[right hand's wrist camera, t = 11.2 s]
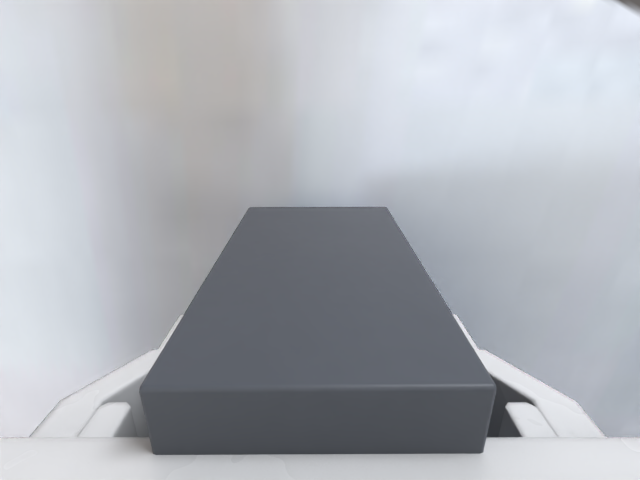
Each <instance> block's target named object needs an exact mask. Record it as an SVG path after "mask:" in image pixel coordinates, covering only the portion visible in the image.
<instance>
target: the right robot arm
mask: <svg viewBox="0 0 640 480" xmlns="http://www.w3.org/2000/svg"><path fill="white" fill-rule="evenodd" d="M183 315H184V314H182V315H180V316H179V317H178V319H177V320H176V322H175V323H174V325H173V326H172V328H171V329H170V331H169V333H168V334H167V336H166V337H165V339H164V340H163V342H162V343H161V345H160V347H159V348H158V350H150V351H149V352H147V353H145V354H143V355H141V356H140V357H138V358H136V359H134V360H132V361H131V362H129V363H127V364H125V365H123V366H122V367H120V368H118V369H116V370H114V371H113V372H111V373H109V374H107V375H105V376H104V377H102V378H100V379H98V380H96V381H95V382H93V383H91V384H89V385H87V386H86V387H84V388H82V389H80V390H78V391H77V392H75V393H73V394H71V395H69V396H68V397H66V398H64V399H62V400H60V401H59V402H58V404H57V405H56V406H55V407H54V408H53V409H52V411H51V412H50V413H49V414H48V415H47V416H46V418H45V419H44V420H43V421H42V422H41V424H40V425H39V426H38V427H37V428H36V429H35V431H34V432H33V433H32V434H31V435H30V436H29V437H0V480H640V437H606V436H605V435H604V434H603V433H602V432H601V430H600V429H599V428H598V427H597V426H596V424H595V423H594V422H593V421H592V420H591V418H590V417H589V416H588V415H587V414H586V412H585V411H584V410H583V409H582V408H581V406H580V405H579V404H578V403H577V402H576V401H575V400H573V399H571V398H569V397H568V396H566V395H564V394H562V393H561V392H559V391H557V390H555V389H553V388H552V387H550V386H548V385H546V384H545V383H543V382H541V381H539V380H537V379H536V378H534V377H532V376H530V375H529V374H527V373H525V372H523V371H522V370H520V369H518V368H516V367H514V366H513V365H511V364H509V363H507V362H506V361H504V360H502V359H500V358H498V357H497V356H495V355H493V354H491V353H490V352H488V351H486V350H479V349H478V347H477V346H476V344H475V343H474V341H473V340H472V338H471V336H470V335H469V333H468V332H467V330H466V329H465V327H464V326H463V324H462V322H461V321H460V319H459V318H458V316H457V315H455V314H453V316H454V318H455V319H456V321H457V323H458V324H459V326H460V327H461V329H462V331H463V332H464V334H465V336H466V337H467V339H468V340H469V342H470V344H471V345H472V347H473V348H474V350H475V352H476V353H477V355H478V357H479V358H480V360H481V361H482V363H483V365H484V366H485V368H486V370H487V371H488V373H489V374H490V376H491V378H492V379H493V381H494V383H495V384H496V395H495V400H494V404H493V409H492V414H491V418H490V423H489V428H488V432H487V437H486V442H485V446H484V451H483V453H480V454H274V455H155V454H153V452H152V447H151V443H150V438H149V434H148V429H147V425H146V420H145V416H144V411H143V407H142V402H141V398H140V393H139V389H140V386H141V384H142V382H143V381H144V379H145V377H146V376H147V374H148V373H149V371H150V369H151V368H152V366H153V364H154V363H155V361H156V359H157V358H158V356H159V355H160V353H161V351H162V350H163V348H164V346H165V345H166V343H167V341H168V340H169V338H170V337H171V335H172V333H173V332H174V330H175V328H176V327H177V325H178V323H179V322H180V320H181V319H182V317H183Z"/></svg>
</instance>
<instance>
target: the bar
mask: <svg viewBox="0 0 640 480" xmlns="http://www.w3.org/2000/svg"><path fill="white" fill-rule="evenodd" d="M139 393H140V398H141V402H142V407H143V411H144V416H145V420H146V425H147V429H148V434H149V438H150V443H151V447H152V452H153V454H155V455H274V454H480V453H483V451H484V446H485V442H486V437H487V432H488V428H489V423H490V418H491V414H492V409H493V404H494V400H495V395H496V384H495V383H494V381H493V379H492V378H491V376H490V374H489V373H488V371H487V370H486V368H485V366H484V365H483V363H482V361H481V360H480V358H479V357H478V355H477V353H476V352H475V350H474V348H473V347H472V345H471V344H470V342H469V340H468V339H467V337H466V336H465V334H464V332H463V331H462V329H461V327H460V326H459V324H458V323H457V321H456V319H455V318H454V316H453V314H452V313H451V311H450V310H449V308H448V306H447V305H446V303H445V301H444V300H443V298H442V297H441V295H440V293H439V292H438V290H437V288H436V287H435V285H434V284H433V282H432V280H431V279H430V277H429V275H428V274H427V272H426V271H425V269H424V267H423V266H422V264H421V263H420V261H419V259H418V258H417V256H416V254H415V253H414V251H413V250H412V248H411V246H410V245H409V243H408V241H407V240H406V238H405V237H404V235H403V233H402V232H401V230H400V228H399V227H398V225H397V224H396V222H395V220H394V219H393V217H392V215H391V214H390V212H389V211H388V209H387V208H386V207H250V208H249V209H248V210H247V212H246V214H245V215H244V217H243V219H242V220H241V222H240V224H239V225H238V227H237V228H236V230H235V232H234V233H233V235H232V237H231V238H230V240H229V242H228V243H227V245H226V246H225V248H224V250H223V251H222V253H221V255H220V256H219V258H218V260H217V261H216V263H215V264H214V266H213V268H212V269H211V271H210V273H209V274H208V276H207V278H206V279H205V281H204V282H203V284H202V286H201V287H200V289H199V291H198V292H197V294H196V296H195V297H194V299H193V301H192V302H191V304H190V305H189V307H188V309H187V310H186V312H185V314H184V315H183V317H182V319H181V320H180V322H179V323H178V325H177V327H176V328H175V330H174V332H173V333H172V335H171V337H170V338H169V340H168V341H167V343H166V345H165V346H164V348H163V350H162V351H161V353H160V355H159V356H158V358H157V359H156V361H155V363H154V364H153V366H152V368H151V369H150V371H149V373H148V374H147V376H146V377H145V379H144V381H143V382H142V384H141V386H140V389H139Z"/></svg>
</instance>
